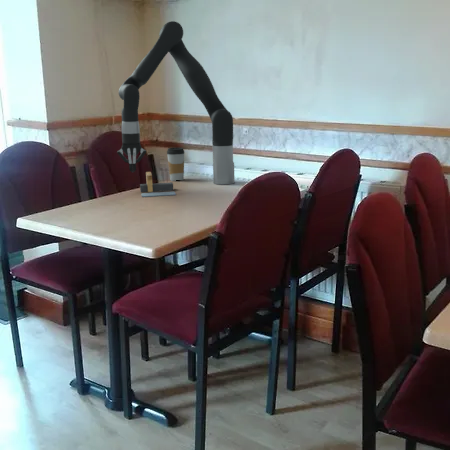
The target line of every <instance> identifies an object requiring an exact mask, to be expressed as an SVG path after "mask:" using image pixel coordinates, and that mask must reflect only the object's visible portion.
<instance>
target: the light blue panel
mask: <svg viewBox="0 0 450 450" xmlns="http://www.w3.org/2000/svg"><path fill="white" fill-rule="evenodd" d="M140 193H141V194H140V195H141V197H142V198H151V197H165V196H167V197H168V196H177V194H176V191H155V192H140Z"/></svg>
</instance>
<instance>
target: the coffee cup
mask: <svg viewBox="0 0 450 450" xmlns="http://www.w3.org/2000/svg"><path fill="white" fill-rule="evenodd" d="M166 155H167V165H168V166H167V167H168V173H169V179H170V182H177V181H176V180H182V181H183V180H184V178H185V177H184V176H185V175H184V174H185V150H184V147H169V148H167V151H166Z"/></svg>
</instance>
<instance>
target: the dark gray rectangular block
mask: <svg viewBox="0 0 450 450" xmlns="http://www.w3.org/2000/svg"><path fill="white" fill-rule="evenodd" d="M152 187H153V192H152V193H156V192H173V191H174V183H173V181H170V182H154V183H153V182H152ZM139 188H140V193H149V192H148V184H147V183H140V184H139ZM172 190H173V191H172Z"/></svg>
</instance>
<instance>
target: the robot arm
mask: <svg viewBox="0 0 450 450" xmlns="http://www.w3.org/2000/svg"><path fill="white" fill-rule="evenodd" d="M158 35H159V37H158V38H157V41H156V42H155V44H154V45H153V46H152V48H151V49H150V50H149V51H148V52H147V54H146V55H145V56H144V57H143V59H141V61H140V62H139V63H138V65H136V68H135V69H134V70H133V72H132V73H131V74H130V76H129V77H127V78H126V80H125V81H124V82H123V83H122V84H121V85H120V87H119V89H118V96H119V99H121V100H123V108H121V141H122V145H121V148H120V149H119V150H117V152H116V153H117V154H118V156H119V158H121V159H122V161H124V162H125V164H126V163H127V164H128V166H129V168H128V169H129V171H130V172H131V173H135V172H136V170H137V163H140V162H141V160H142V159H143V158H144V157H145V155H146V153H147V150H146V149H144V148H142V145H141V137H140V136H141V135H140V133H141V131H140V122H139V105H140V91H139V90H140V89H141V87H142V86H144V85H146V84H147V83H148V82H149V80H150V79H151V77H152V76H153V74H154V73H155V72H156V70H157V69H158V67H159V65H161V63H162V61H163V60H164V58H165V57H166V56H167V54H168V53H169V54H170V55H171V57H172V58H173V60H174V61H175V63H176V64H177V67H178V68H179V70H180V72H181V74H182V76H183V77H184V79H185V81H186V83H187V84H188V86H189V88H190V90H192V92H193V93H194V95H195V96H196V97H197V99H198V100H199V101H200V102H201V104H202V105H203V106H204V109H205V110H206V112H207V114H208V116H209V119H210V120H211V129H212V130H211V133H212V136H211V138H212V140H211V142H212V143H211V145H212V147H211V148H212V173H213V174H212V175H213V176H212V177H213V178H212V179H213V184H216V185H230V184H235V162H234V117H233V114H232V113H231V111H229V110H228V109H227V108H226V106H225V105H224V104H223V101H221V100H220V98H219V96H218V95H217V92H216V90H215V87H214V85H213V83H212V80H211V79H210V77H209V75H208V73H207V71H206V70H205V69H204V66H202V64H201V63H200V62H199V61H198V60H197V59H196V58H195V57H194V56H193V55H192V54H191V52H190V51H189V50H188V48H187V47H186V44H185V43H184V41H183V40H182V39H183V37H184V29H183V26H182V25H181V23H179V22H177V21H174V20H173V21H168V22H166V23H165V24H164V25H163V26H162V27H161V28H160V30H159V34H158ZM139 152H140V155H139V156H138V158H137V155H138V154H139ZM124 154H125V155H126V156H128V157H127V158H128V159H127V158H126V156H125V155H124Z"/></svg>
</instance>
